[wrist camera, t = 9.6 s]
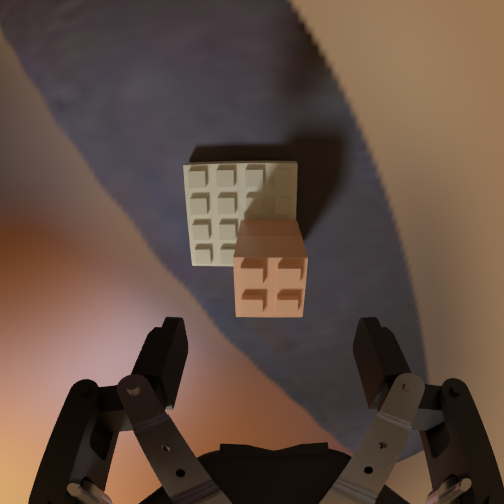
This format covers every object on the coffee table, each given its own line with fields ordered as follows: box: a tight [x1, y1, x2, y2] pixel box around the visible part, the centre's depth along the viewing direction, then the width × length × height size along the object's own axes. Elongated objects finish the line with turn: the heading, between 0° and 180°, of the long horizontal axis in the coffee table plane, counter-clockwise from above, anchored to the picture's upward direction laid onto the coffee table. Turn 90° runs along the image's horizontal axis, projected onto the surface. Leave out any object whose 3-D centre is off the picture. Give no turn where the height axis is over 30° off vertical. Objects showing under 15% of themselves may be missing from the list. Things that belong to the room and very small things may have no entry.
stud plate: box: [183, 161, 298, 266], centre depth 22 cm, size 8×8×2 cm
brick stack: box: [233, 220, 308, 317], centre depth 20 cm, size 4×4×6 cm
